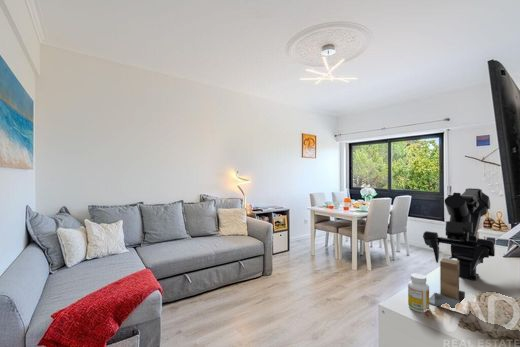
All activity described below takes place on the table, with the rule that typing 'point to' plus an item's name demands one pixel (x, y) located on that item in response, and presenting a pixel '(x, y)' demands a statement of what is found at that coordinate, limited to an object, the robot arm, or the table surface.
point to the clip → (446, 299)
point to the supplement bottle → (418, 293)
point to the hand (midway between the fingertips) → (453, 265)
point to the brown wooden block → (449, 277)
